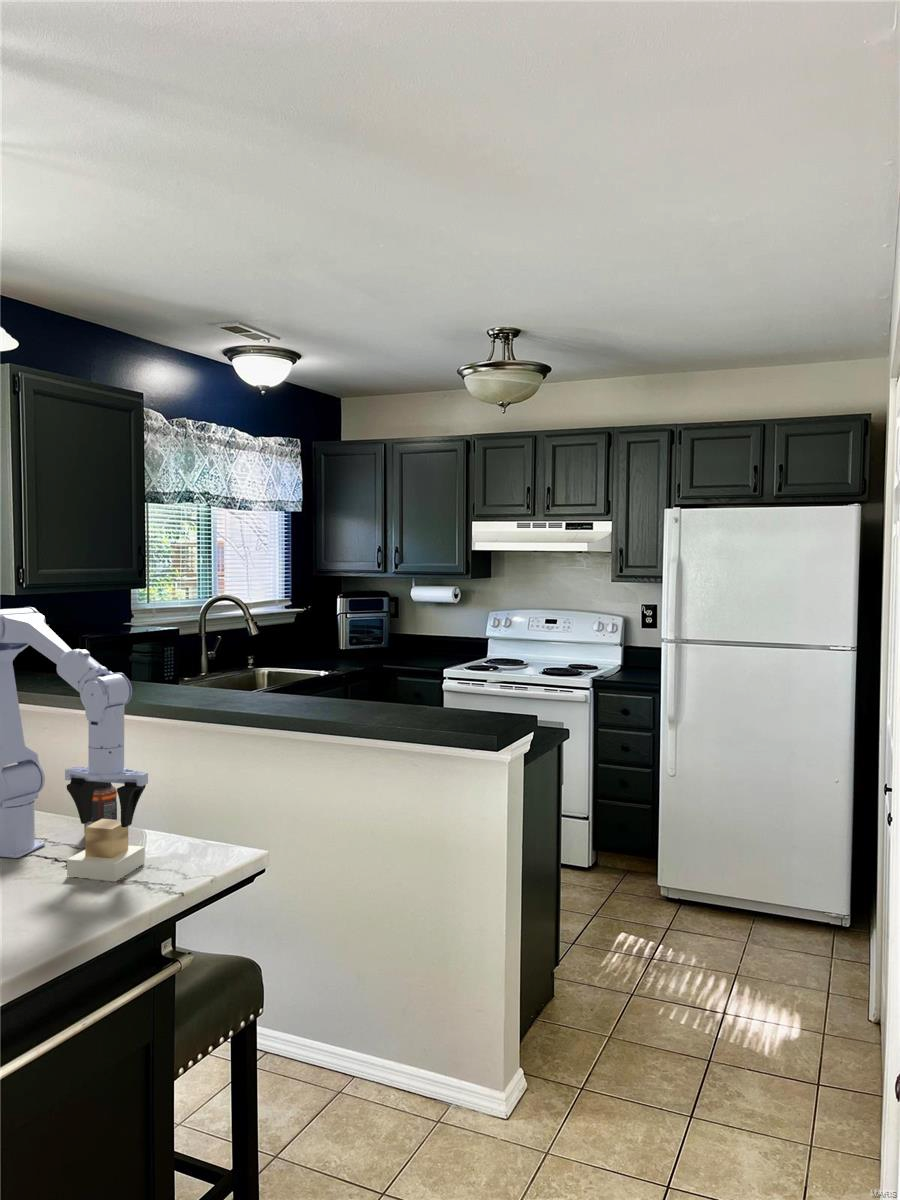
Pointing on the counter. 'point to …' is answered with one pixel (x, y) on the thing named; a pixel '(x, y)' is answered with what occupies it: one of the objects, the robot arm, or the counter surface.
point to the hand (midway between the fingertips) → (106, 823)
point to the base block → (106, 865)
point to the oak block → (105, 838)
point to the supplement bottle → (103, 802)
